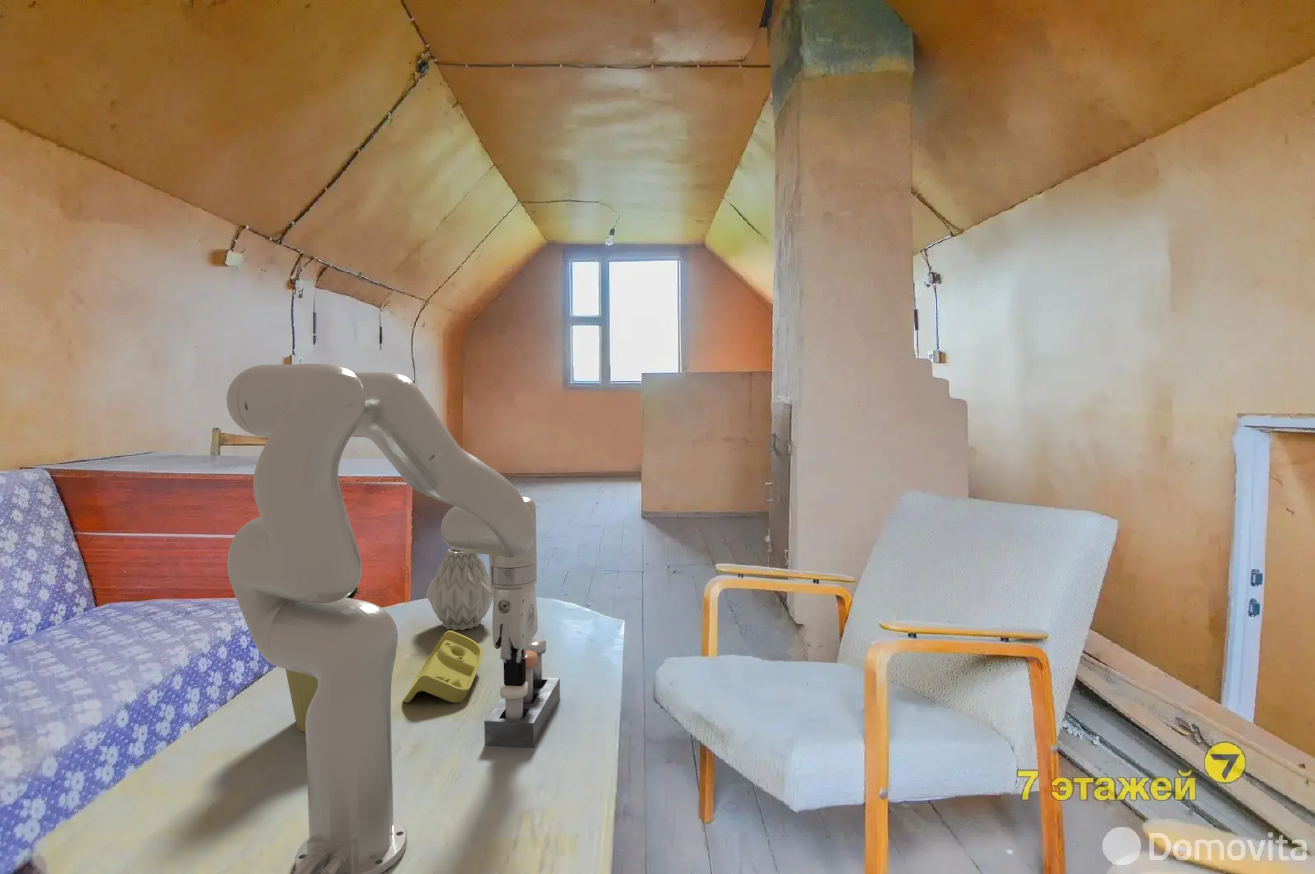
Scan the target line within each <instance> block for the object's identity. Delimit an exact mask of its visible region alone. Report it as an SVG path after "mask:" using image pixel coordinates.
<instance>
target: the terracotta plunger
mask: <svg viewBox="0 0 1315 874" xmlns="http://www.w3.org/2000/svg"><path fill="white" fill-rule="evenodd" d="M522 659H526V681H527V683H528V694H527V695H526V696H524V697H523V703H532V704H533V667H534V666H536V665H537V653H536V652H534V651H526V655H525V658H522Z"/></svg>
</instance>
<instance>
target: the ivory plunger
mask: <svg viewBox="0 0 1315 874" xmlns="http://www.w3.org/2000/svg"><path fill="white" fill-rule="evenodd" d="M499 688H500V689H499V691H500V692H499V694H500V695H499V696H500V698H505V704H506V719H517V720H523V697H524V696H526V695H527V694H528V683H527V681H525V683H524V684H523V686H506V685H504V681H503V682H501V683H500V685H499Z"/></svg>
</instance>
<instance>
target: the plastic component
mask: <svg viewBox="0 0 1315 874" xmlns="http://www.w3.org/2000/svg"><path fill="white" fill-rule="evenodd" d="M483 655H484V651H483V648H482V647H481V646H480V644H479V643H477V642H476V641H475V640H473V639H471V638H470V637H468V636H465V635H463V634H461V633H459V632H456V631H455V630H453V629H448V630H447V631H446V632H444V633H443V635H442V636H441V638H440V639H439V641H438V642H437V644H436V645H435V647H434V649H433V650H432V652H431V653H430V654H429V656H428V658H427V659H426V661H425V662H424V664H423V665H422V667H421V669H420V670H419V672H418V674H416V677H415V679H414V680H413V682H412V684H411V686H410V687H409V688H408V691H407V693H406V694H405V696H404V698H403V700H402V702H405V703H408V704H409V703H410V702H411V701H413V699H414V698H415V697H416V695H417V694H418V693H420V692H425V693H428V694H430V695H433V696H435V697H438V698H439V699H442V700H444V701H447V702H449V703H451V704H452V703H454V704H459V703H462V702H463V701H464V700H465V699H466V697H467V695H468V693H469V691H470V689H471V686H472V684H473V682H474V679H475V678H476V674H477V672H478V669H479V667H480V664H481V662H482V660H483Z"/></svg>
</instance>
